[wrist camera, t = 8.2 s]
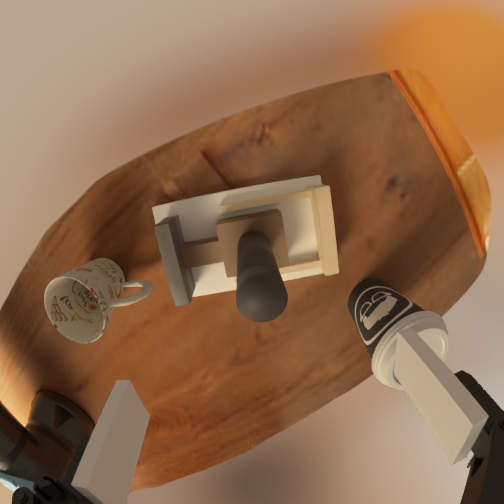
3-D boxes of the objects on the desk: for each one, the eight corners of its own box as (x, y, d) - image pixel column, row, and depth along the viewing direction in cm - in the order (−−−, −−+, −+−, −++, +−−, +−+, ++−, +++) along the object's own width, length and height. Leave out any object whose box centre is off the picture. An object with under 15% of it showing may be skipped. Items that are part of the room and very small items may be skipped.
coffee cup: (333, 331, 41) (369, 402, 26) (341, 269, 38) (390, 326, 24) (391, 325, 41) (439, 386, 27) (402, 266, 38) (465, 315, 24)
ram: (183, 288, 36) (150, 368, 21) (165, 217, 34) (110, 261, 18) (287, 269, 36) (319, 344, 21) (276, 195, 34) (305, 223, 18)
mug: (74, 253, 36) (34, 280, 27) (154, 239, 36) (126, 266, 26) (91, 307, 39) (59, 344, 29) (169, 299, 38) (149, 340, 29)
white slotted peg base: (178, 295, 38) (171, 311, 34) (154, 205, 35) (143, 211, 31) (329, 268, 38) (339, 280, 34) (317, 174, 34) (328, 176, 30)
